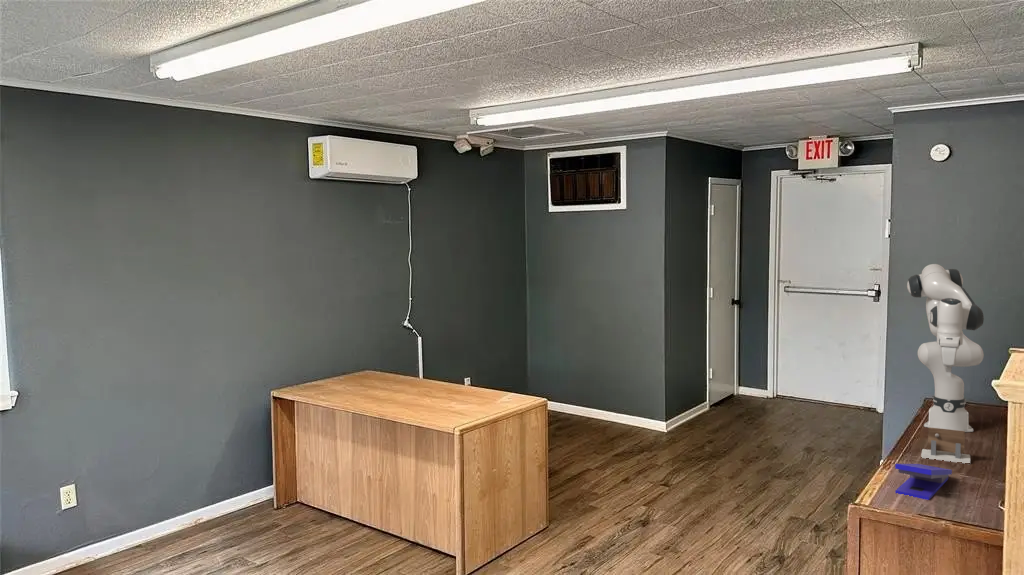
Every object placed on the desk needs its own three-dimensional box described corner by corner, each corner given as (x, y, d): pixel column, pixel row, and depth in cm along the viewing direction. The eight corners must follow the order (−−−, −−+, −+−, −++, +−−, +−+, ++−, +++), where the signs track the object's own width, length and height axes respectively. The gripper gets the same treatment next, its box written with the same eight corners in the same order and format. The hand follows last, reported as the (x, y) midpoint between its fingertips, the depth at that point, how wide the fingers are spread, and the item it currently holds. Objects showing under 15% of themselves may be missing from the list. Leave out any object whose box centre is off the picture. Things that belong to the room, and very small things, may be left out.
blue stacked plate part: (893, 493, 243) (893, 464, 243) (915, 473, 264) (916, 446, 263) (932, 501, 236) (932, 471, 235) (951, 480, 256) (952, 452, 256)
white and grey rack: (922, 452, 288) (922, 435, 287) (970, 458, 279) (970, 440, 279) (921, 457, 281) (921, 440, 281) (970, 464, 273) (970, 445, 272)
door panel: (928, 447, 285) (928, 427, 284) (964, 451, 278) (964, 431, 278) (927, 449, 281) (928, 429, 281) (964, 454, 275) (964, 433, 274)
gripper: (941, 335, 299) (940, 368, 301) (939, 342, 282) (938, 377, 283) (959, 336, 296) (958, 370, 297) (958, 343, 279) (957, 379, 280)
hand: (948, 374), depth 290 cm, fingers open, 8 cm apart
